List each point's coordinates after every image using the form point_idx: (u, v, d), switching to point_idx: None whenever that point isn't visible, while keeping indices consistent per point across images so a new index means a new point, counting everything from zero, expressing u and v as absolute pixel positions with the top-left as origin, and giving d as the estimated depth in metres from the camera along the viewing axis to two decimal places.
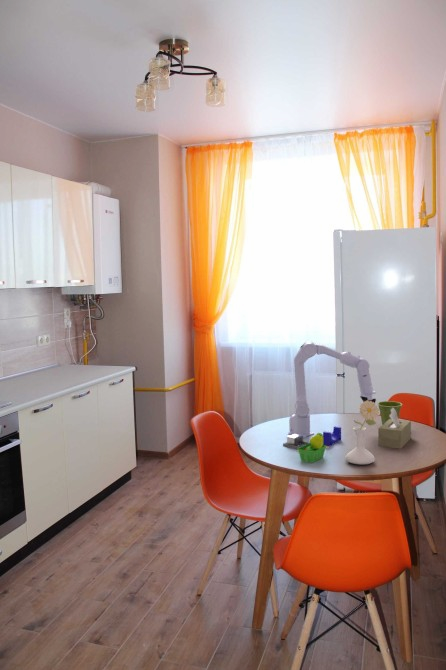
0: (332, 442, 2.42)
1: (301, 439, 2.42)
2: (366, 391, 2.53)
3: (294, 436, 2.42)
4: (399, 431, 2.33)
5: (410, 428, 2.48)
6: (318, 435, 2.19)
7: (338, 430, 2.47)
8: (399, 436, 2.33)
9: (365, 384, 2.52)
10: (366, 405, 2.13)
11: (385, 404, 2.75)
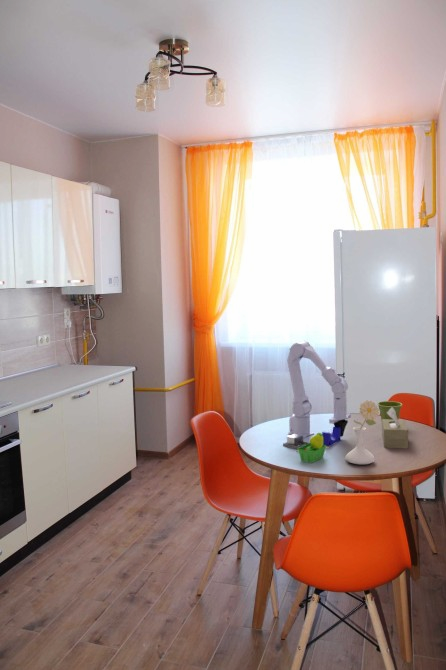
0: (331, 442, 2.41)
1: (301, 439, 2.42)
2: (335, 414, 2.48)
3: (294, 436, 2.42)
4: (406, 431, 2.33)
5: None
6: (318, 435, 2.19)
7: (337, 430, 2.47)
8: (406, 436, 2.33)
9: (337, 407, 2.47)
10: (366, 405, 2.13)
11: (385, 404, 2.75)
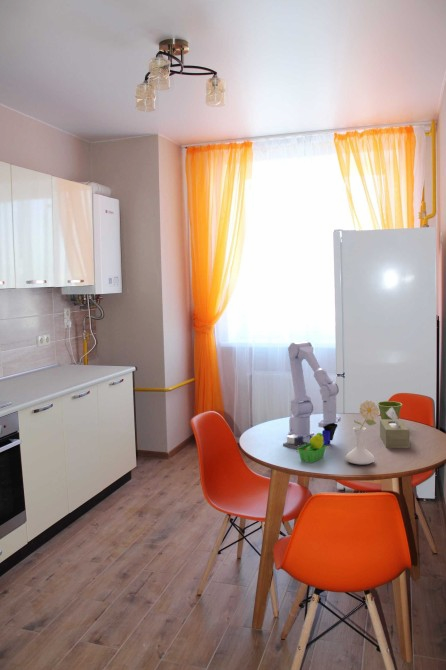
0: None
1: (301, 439, 2.42)
2: (325, 417, 2.42)
3: (294, 436, 2.42)
4: (407, 430, 2.33)
5: None
6: (318, 435, 2.19)
7: (327, 434, 2.41)
8: (407, 435, 2.34)
9: (324, 410, 2.42)
10: (366, 405, 2.13)
11: (385, 404, 2.75)
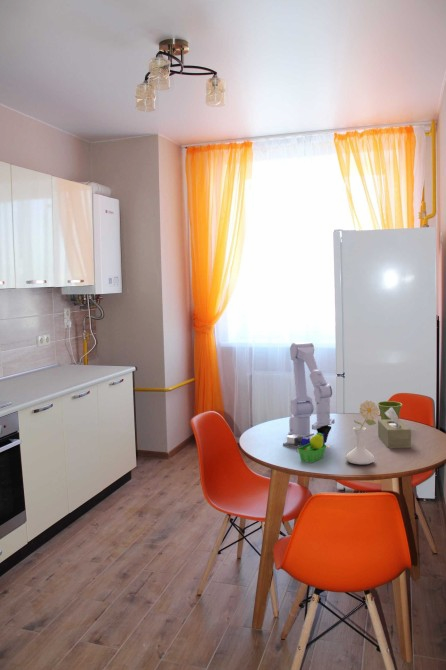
0: None
1: (301, 439, 2.42)
2: (318, 419, 2.39)
3: (294, 436, 2.42)
4: (409, 430, 2.34)
5: None
6: (318, 435, 2.19)
7: None
8: (409, 435, 2.34)
9: (317, 412, 2.39)
10: (366, 405, 2.13)
11: (385, 404, 2.75)
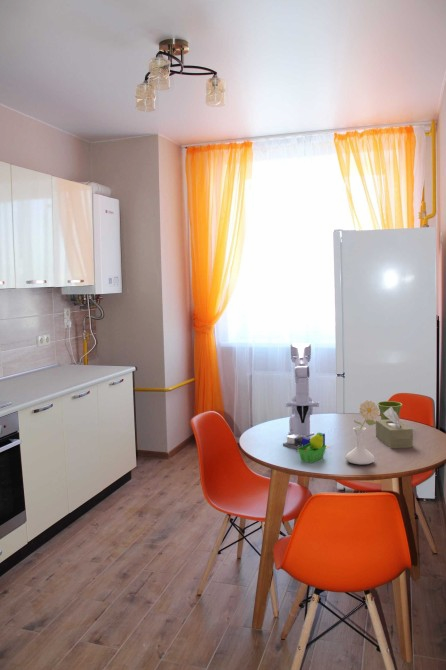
0: None
1: (301, 439, 2.42)
2: None
3: (294, 436, 2.42)
4: (411, 430, 2.34)
5: None
6: (318, 435, 2.19)
7: None
8: (411, 435, 2.34)
9: None
10: (366, 405, 2.13)
11: (385, 404, 2.75)
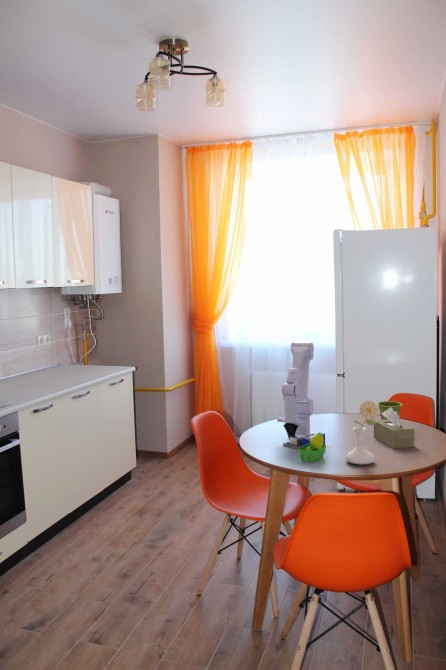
0: None
1: None
2: None
3: (296, 437, 2.41)
4: (413, 429, 2.35)
5: None
6: (318, 435, 2.19)
7: None
8: (413, 434, 2.35)
9: None
10: (366, 405, 2.13)
11: (385, 404, 2.75)
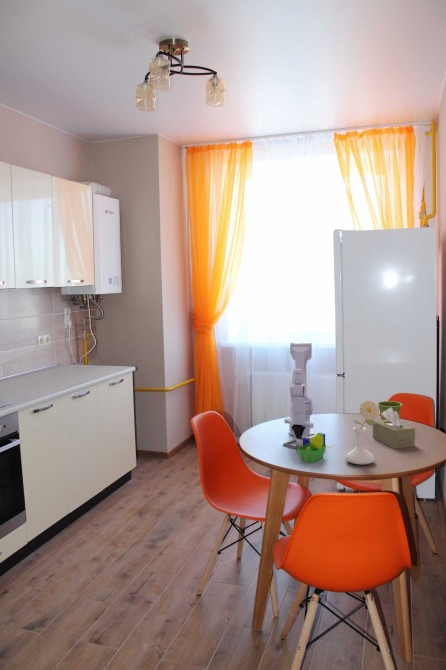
0: None
1: None
2: None
3: None
4: (413, 429, 2.35)
5: None
6: (318, 435, 2.19)
7: None
8: (413, 434, 2.36)
9: None
10: (366, 405, 2.13)
11: (385, 404, 2.75)
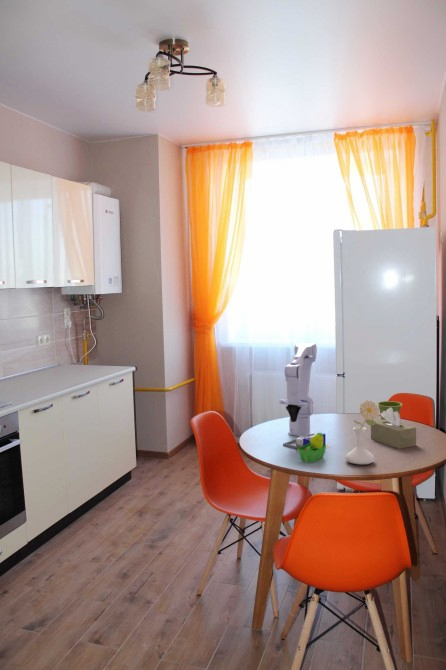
0: None
1: None
2: None
3: None
4: (415, 428, 2.37)
5: None
6: (318, 435, 2.19)
7: None
8: (415, 433, 2.37)
9: None
10: (366, 405, 2.13)
11: (385, 404, 2.75)
